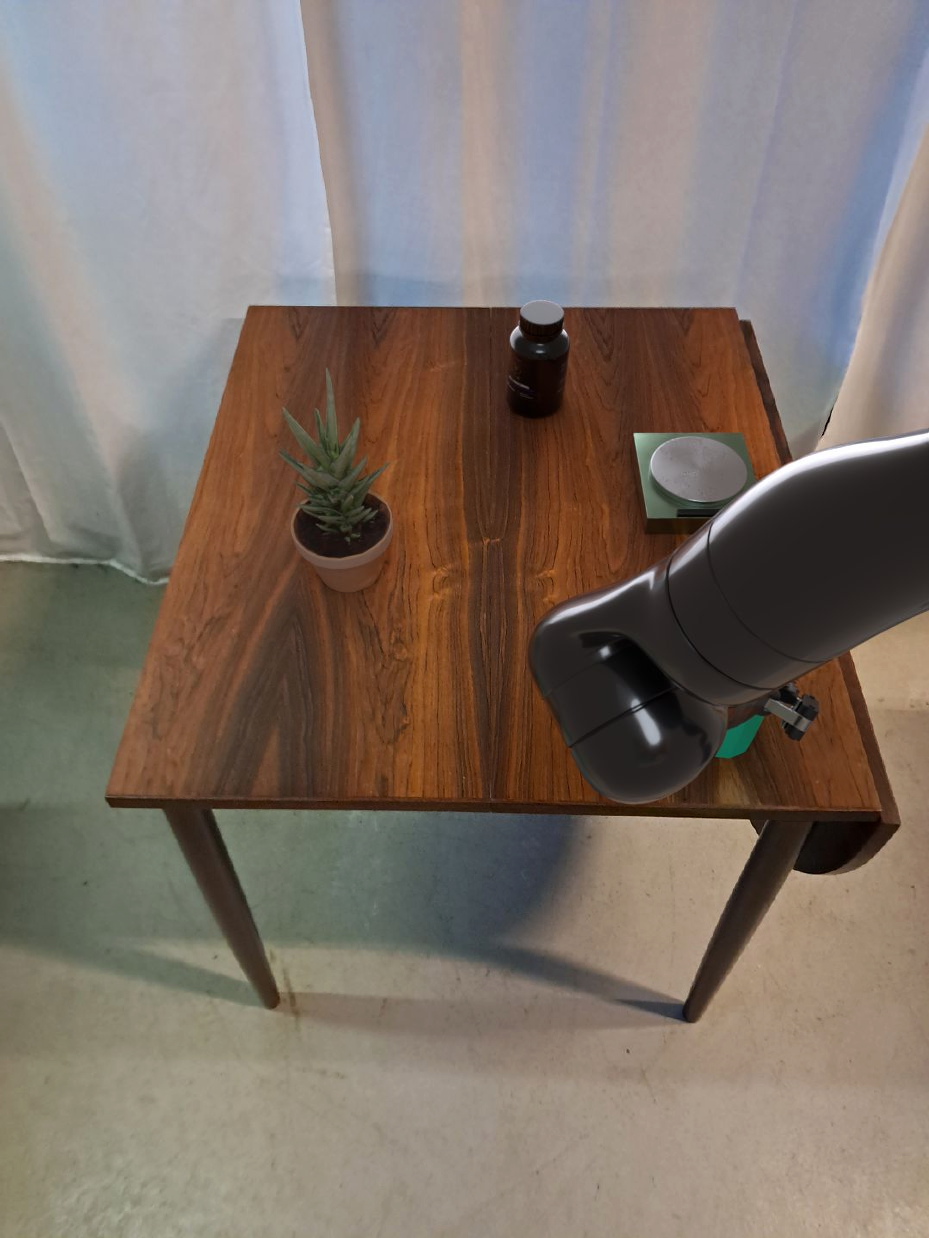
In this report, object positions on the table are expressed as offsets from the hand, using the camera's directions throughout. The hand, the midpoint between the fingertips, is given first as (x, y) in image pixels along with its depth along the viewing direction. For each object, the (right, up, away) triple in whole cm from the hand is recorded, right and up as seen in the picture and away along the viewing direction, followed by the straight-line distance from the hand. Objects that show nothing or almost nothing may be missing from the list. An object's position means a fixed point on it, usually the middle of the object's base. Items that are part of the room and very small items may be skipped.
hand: (749, 668), depth 73 cm
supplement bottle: (-15, +30, +33) cm, 47 cm away
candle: (-1, -6, +5) cm, 8 cm away
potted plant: (-34, +9, +17) cm, 39 cm away
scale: (+1, +18, +23) cm, 29 cm away
